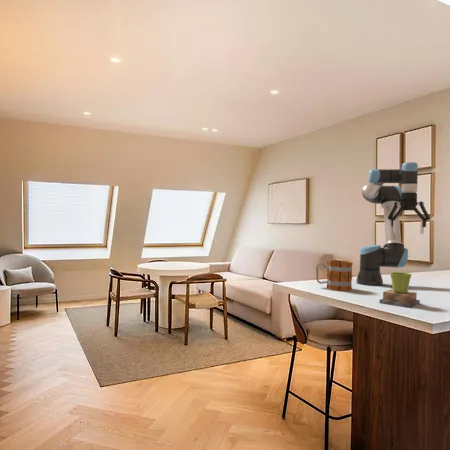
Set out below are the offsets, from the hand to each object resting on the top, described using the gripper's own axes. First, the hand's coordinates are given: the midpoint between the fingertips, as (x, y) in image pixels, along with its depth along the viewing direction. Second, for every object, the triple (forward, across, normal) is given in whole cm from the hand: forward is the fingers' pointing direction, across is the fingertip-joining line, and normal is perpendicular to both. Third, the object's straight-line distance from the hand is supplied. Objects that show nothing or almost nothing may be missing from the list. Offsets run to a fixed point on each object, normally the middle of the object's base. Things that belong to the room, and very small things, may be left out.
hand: (407, 233), depth 201 cm
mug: (+32, +34, +14) cm, 49 cm away
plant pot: (+27, -6, +27) cm, 39 cm away
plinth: (+32, -6, +27) cm, 42 cm away
